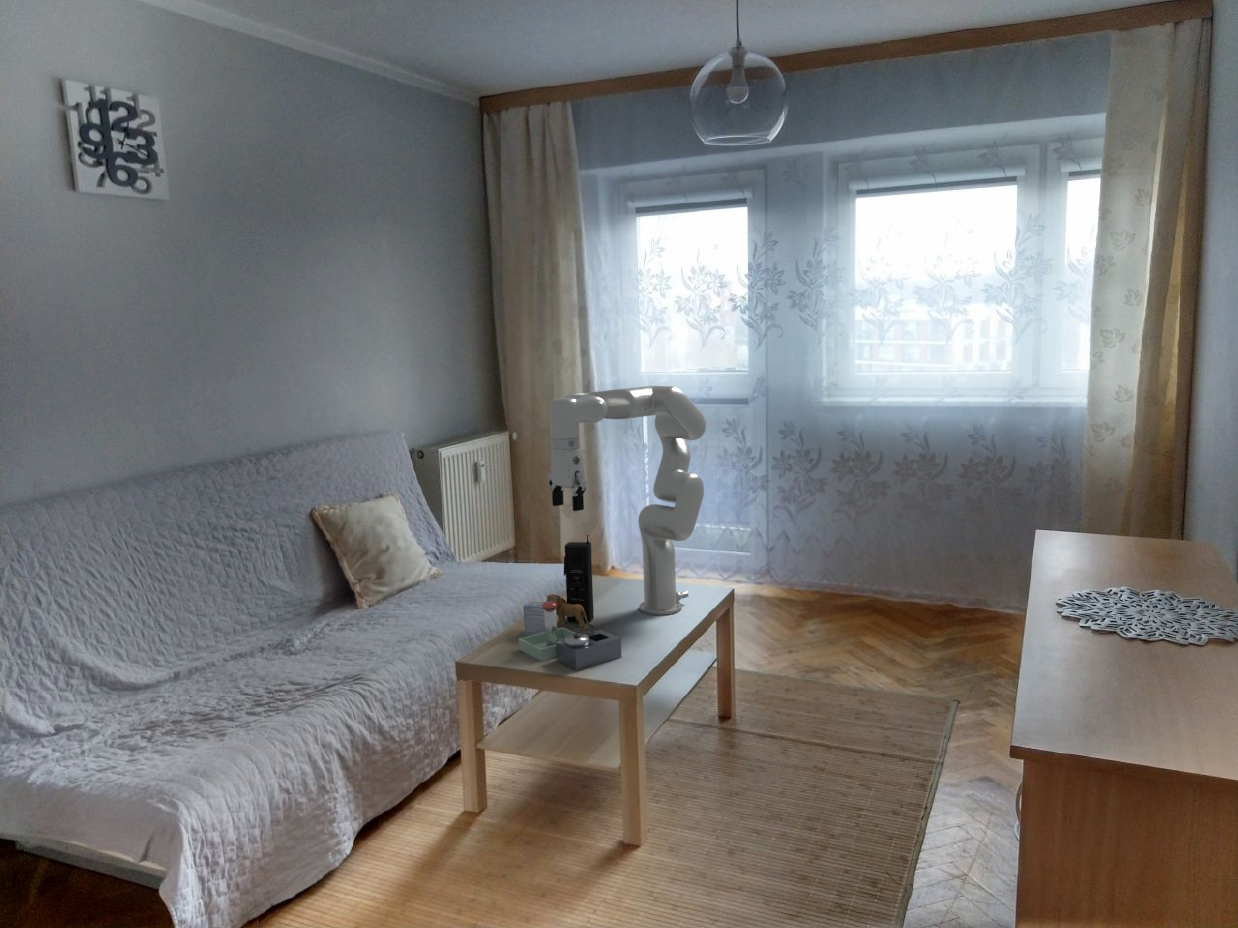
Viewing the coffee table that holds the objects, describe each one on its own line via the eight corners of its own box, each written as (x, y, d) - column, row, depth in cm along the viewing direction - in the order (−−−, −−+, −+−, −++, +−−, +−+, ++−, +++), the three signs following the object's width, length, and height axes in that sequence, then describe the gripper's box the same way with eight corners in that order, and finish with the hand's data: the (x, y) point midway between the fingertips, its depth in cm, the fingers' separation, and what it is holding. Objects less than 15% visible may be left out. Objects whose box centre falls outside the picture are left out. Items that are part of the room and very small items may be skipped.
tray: (563, 637, 250) (563, 627, 249) (586, 648, 241) (585, 637, 240) (519, 649, 241) (518, 638, 241) (541, 660, 233) (540, 649, 232)
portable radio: (563, 622, 263) (559, 537, 259) (569, 616, 268) (565, 533, 265) (589, 623, 261) (586, 538, 257) (594, 617, 267) (591, 533, 263)
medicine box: (556, 632, 255) (555, 602, 253) (551, 637, 250) (549, 607, 249) (530, 630, 257) (528, 600, 255) (524, 635, 252) (522, 605, 251)
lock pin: (554, 643, 244) (552, 600, 242) (562, 647, 241) (560, 603, 239) (541, 646, 241) (539, 603, 240) (550, 650, 238) (547, 606, 236)
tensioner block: (601, 647, 241) (600, 621, 240) (621, 656, 234) (620, 629, 232) (556, 660, 232) (555, 633, 231) (576, 670, 225) (575, 642, 224)
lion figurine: (543, 626, 260) (541, 596, 259) (551, 620, 265) (550, 590, 263) (590, 631, 254) (588, 600, 253) (597, 625, 259) (596, 595, 258)
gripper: (595, 445, 237) (598, 510, 239) (559, 440, 251) (562, 501, 253) (571, 448, 232) (574, 514, 235) (536, 443, 246) (539, 505, 249)
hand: (568, 507), depth 244 cm, fingers open, 9 cm apart
